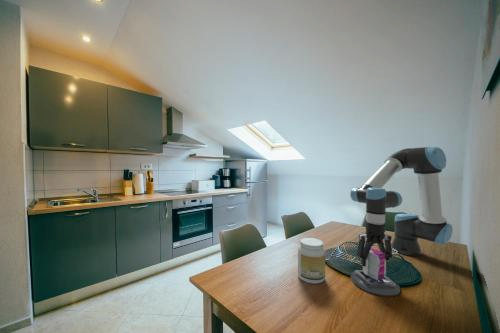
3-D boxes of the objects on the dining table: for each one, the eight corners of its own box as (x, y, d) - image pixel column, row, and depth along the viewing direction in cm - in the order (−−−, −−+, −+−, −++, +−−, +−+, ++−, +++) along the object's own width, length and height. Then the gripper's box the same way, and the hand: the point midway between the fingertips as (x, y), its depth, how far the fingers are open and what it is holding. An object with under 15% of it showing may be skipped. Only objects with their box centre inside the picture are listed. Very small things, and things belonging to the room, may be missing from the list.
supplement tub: (330, 282, 93) (331, 245, 93) (306, 286, 89) (307, 247, 89) (314, 269, 104) (315, 236, 104) (293, 272, 101) (293, 238, 101)
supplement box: (377, 281, 89) (377, 255, 89) (363, 275, 94) (364, 250, 94) (384, 278, 91) (385, 252, 91) (371, 272, 97) (372, 247, 97)
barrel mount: (380, 272, 103) (380, 266, 103) (411, 296, 84) (412, 289, 84) (343, 272, 102) (343, 266, 102) (366, 296, 83) (366, 289, 83)
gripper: (391, 220, 97) (390, 268, 97) (348, 219, 96) (347, 268, 96) (403, 224, 89) (402, 277, 89) (357, 224, 89) (356, 277, 89)
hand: (374, 272), depth 93 cm, fingers closed on supplement box, 7 cm apart
